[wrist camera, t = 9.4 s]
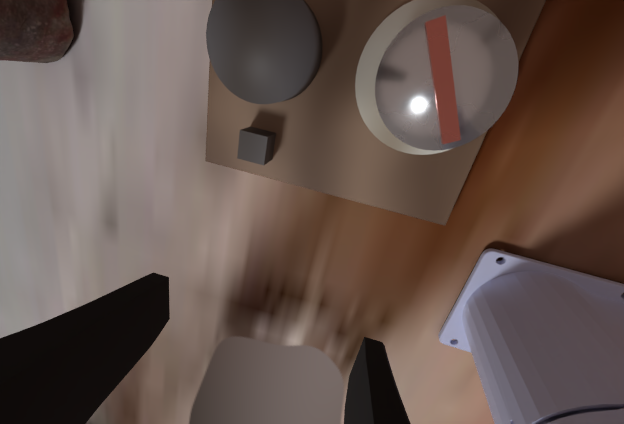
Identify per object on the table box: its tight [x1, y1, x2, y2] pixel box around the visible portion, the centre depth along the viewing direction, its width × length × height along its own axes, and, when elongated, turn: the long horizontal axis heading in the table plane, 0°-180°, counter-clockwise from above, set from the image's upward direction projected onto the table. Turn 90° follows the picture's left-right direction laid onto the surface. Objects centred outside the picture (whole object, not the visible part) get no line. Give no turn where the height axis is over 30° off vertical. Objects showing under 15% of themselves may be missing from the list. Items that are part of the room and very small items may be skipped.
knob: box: [375, 5, 518, 151], centre depth 12 cm, size 5×5×5 cm
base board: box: [206, 0, 546, 225], centre depth 15 cm, size 15×14×3 cm
